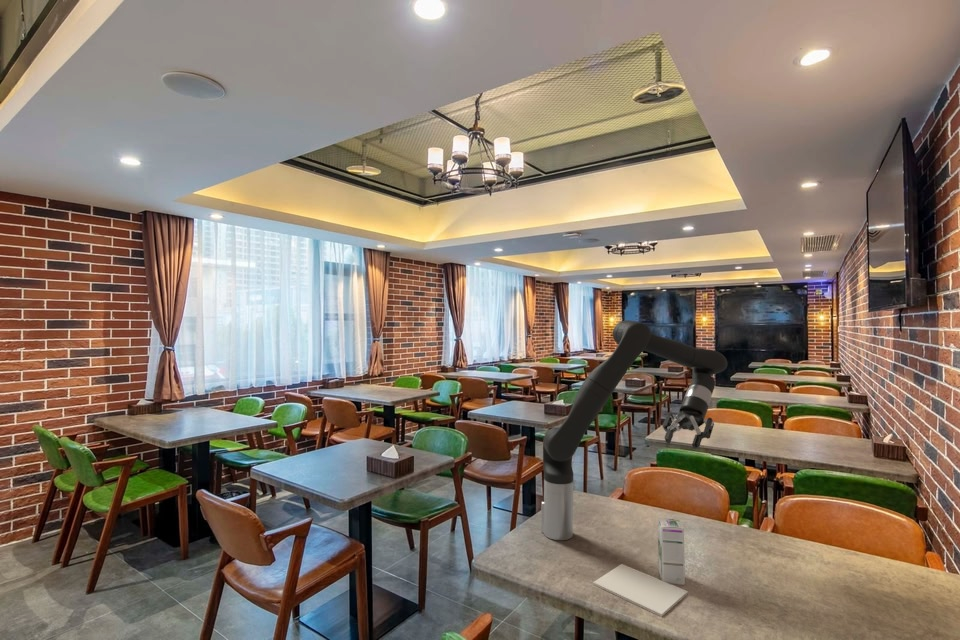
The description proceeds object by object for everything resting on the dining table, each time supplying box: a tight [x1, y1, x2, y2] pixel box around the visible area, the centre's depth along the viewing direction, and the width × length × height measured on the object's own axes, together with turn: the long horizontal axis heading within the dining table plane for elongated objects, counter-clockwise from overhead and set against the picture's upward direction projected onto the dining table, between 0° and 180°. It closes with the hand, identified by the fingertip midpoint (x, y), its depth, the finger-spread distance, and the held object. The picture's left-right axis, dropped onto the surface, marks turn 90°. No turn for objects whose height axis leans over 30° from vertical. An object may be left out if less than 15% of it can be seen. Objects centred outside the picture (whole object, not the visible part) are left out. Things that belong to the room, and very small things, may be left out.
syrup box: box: [657, 517, 686, 586], centre depth 121 cm, size 6×6×14 cm
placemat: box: [592, 563, 689, 618], centre depth 116 cm, size 18×14×1 cm
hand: (680, 444), depth 139 cm, fingers open, 7 cm apart
